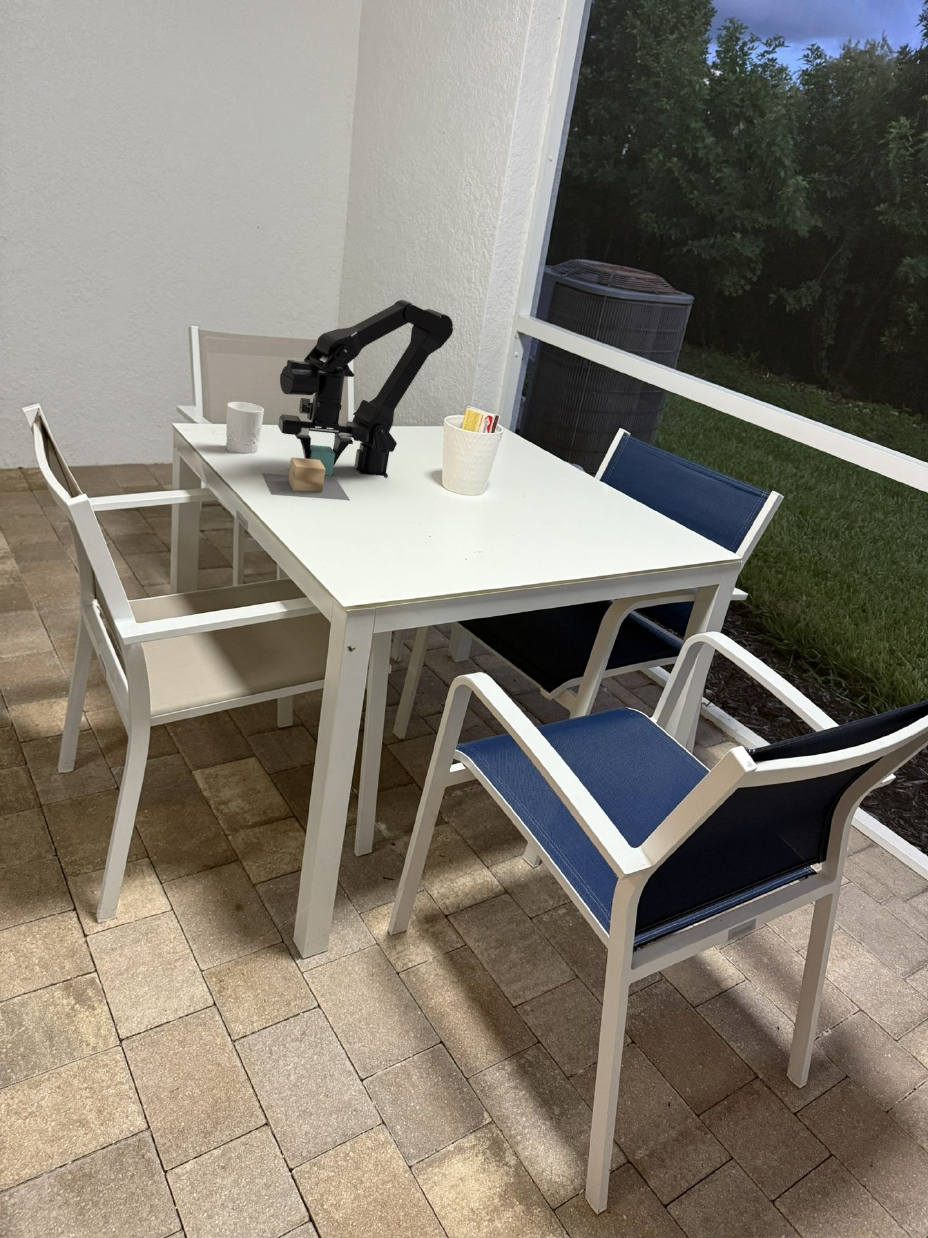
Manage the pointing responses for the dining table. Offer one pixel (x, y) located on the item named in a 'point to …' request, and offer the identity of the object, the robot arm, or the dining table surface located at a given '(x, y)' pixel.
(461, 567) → the dining table surface
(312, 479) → the oak base block
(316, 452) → the teal cube
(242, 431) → the white cup
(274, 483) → the build board
